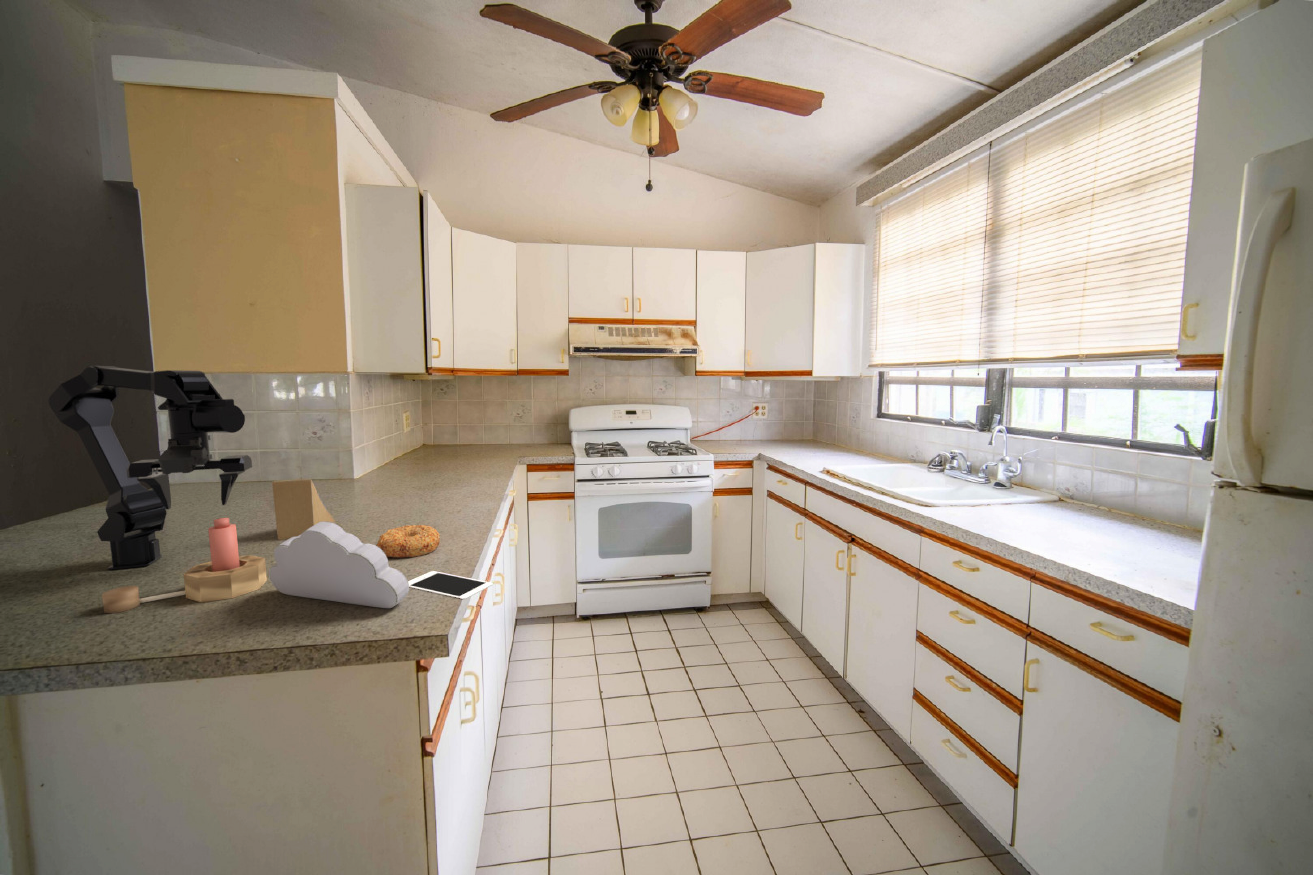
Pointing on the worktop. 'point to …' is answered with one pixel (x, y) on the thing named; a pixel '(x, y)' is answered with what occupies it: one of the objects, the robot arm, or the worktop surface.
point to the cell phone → (448, 584)
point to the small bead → (121, 599)
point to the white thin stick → (162, 596)
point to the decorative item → (336, 569)
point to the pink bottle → (223, 545)
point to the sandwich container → (297, 507)
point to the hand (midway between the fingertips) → (196, 506)
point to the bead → (225, 580)
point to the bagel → (409, 541)
